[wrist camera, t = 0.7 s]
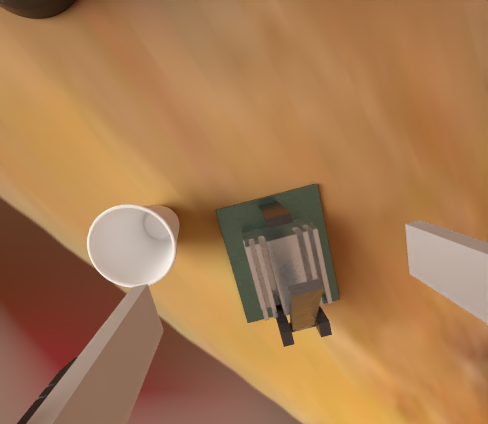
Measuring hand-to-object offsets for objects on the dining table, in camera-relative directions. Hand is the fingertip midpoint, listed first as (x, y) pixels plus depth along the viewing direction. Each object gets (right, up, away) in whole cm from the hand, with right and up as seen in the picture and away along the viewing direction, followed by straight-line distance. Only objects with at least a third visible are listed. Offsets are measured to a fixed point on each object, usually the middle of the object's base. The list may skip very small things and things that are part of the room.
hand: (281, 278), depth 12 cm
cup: (-15, +1, +26) cm, 30 cm away
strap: (+5, -8, +16) cm, 19 cm away
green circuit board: (+4, -4, +28) cm, 29 cm away
